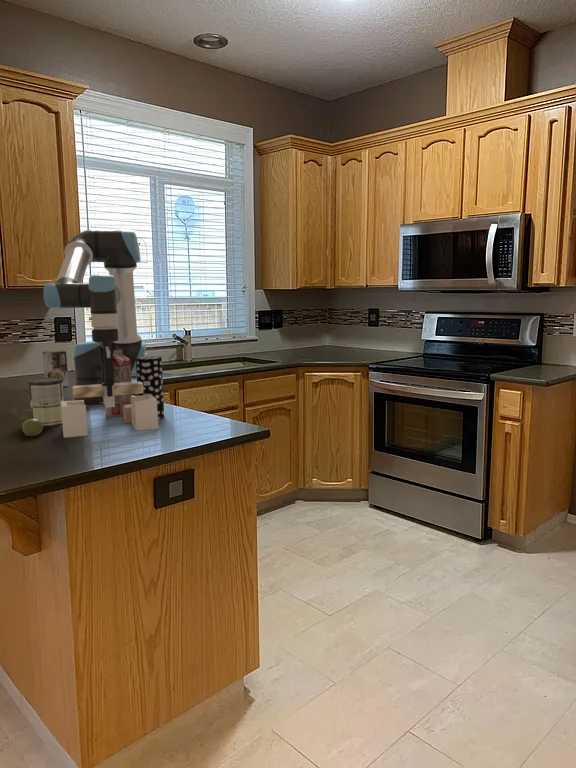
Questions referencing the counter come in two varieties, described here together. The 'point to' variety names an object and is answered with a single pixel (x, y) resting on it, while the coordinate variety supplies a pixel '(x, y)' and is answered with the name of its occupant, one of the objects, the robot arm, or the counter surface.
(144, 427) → the end caps
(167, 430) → the counter surface
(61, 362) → the coffee box
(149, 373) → the spotted tube
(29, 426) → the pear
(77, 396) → the birch slat
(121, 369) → the juice carton
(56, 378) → the coffee can
